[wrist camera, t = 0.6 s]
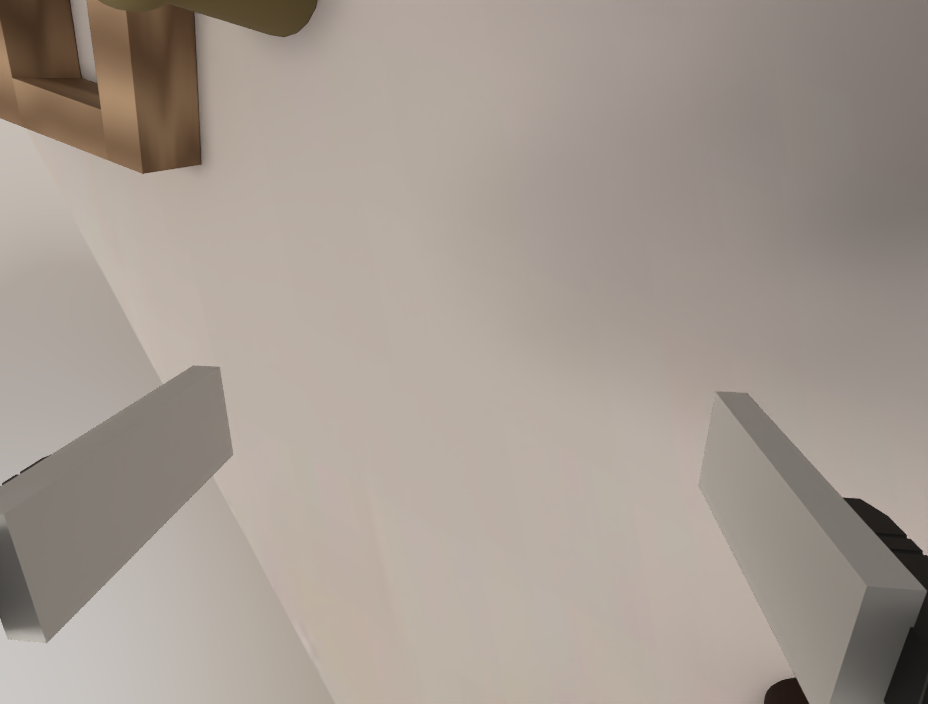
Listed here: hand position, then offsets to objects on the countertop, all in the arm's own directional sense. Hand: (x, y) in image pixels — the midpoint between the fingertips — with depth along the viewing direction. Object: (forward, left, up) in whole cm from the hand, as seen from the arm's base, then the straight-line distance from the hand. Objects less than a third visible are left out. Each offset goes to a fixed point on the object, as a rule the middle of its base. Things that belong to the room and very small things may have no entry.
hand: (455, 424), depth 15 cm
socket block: (-4, -34, -17) cm, 39 cm away
